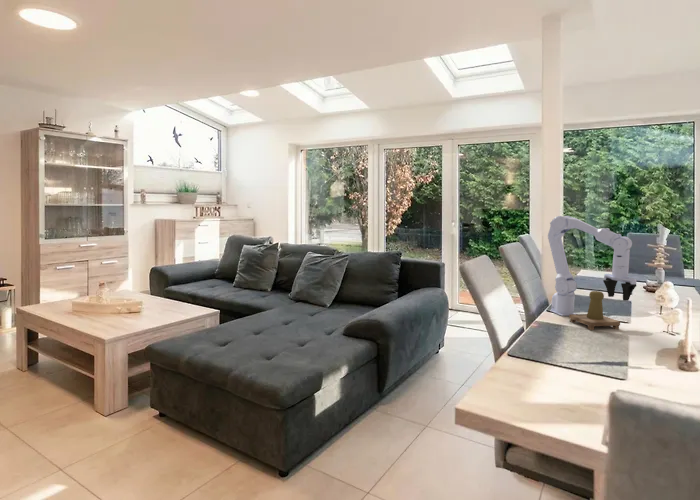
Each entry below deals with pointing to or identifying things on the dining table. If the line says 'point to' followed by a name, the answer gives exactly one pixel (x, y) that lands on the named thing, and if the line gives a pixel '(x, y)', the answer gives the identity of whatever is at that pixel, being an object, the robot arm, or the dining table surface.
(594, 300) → the olive bulb-shaped piece
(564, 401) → the dining table surface
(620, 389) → the dining table surface
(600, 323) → the tan square board
